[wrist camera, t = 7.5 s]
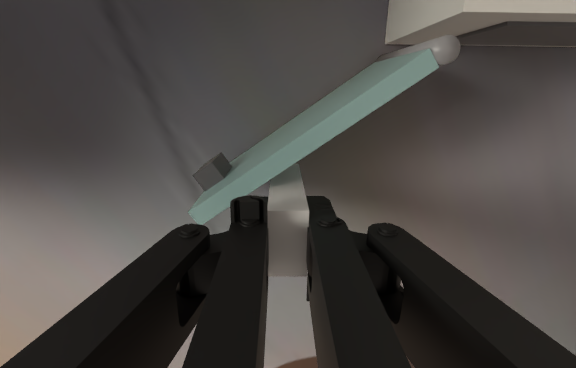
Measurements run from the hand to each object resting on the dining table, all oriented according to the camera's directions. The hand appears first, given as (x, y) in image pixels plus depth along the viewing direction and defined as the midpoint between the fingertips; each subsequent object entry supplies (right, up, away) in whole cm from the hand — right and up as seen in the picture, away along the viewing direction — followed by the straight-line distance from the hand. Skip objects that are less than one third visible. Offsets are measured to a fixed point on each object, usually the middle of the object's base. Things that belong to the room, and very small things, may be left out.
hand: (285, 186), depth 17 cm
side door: (+1, +5, +2) cm, 5 cm away
